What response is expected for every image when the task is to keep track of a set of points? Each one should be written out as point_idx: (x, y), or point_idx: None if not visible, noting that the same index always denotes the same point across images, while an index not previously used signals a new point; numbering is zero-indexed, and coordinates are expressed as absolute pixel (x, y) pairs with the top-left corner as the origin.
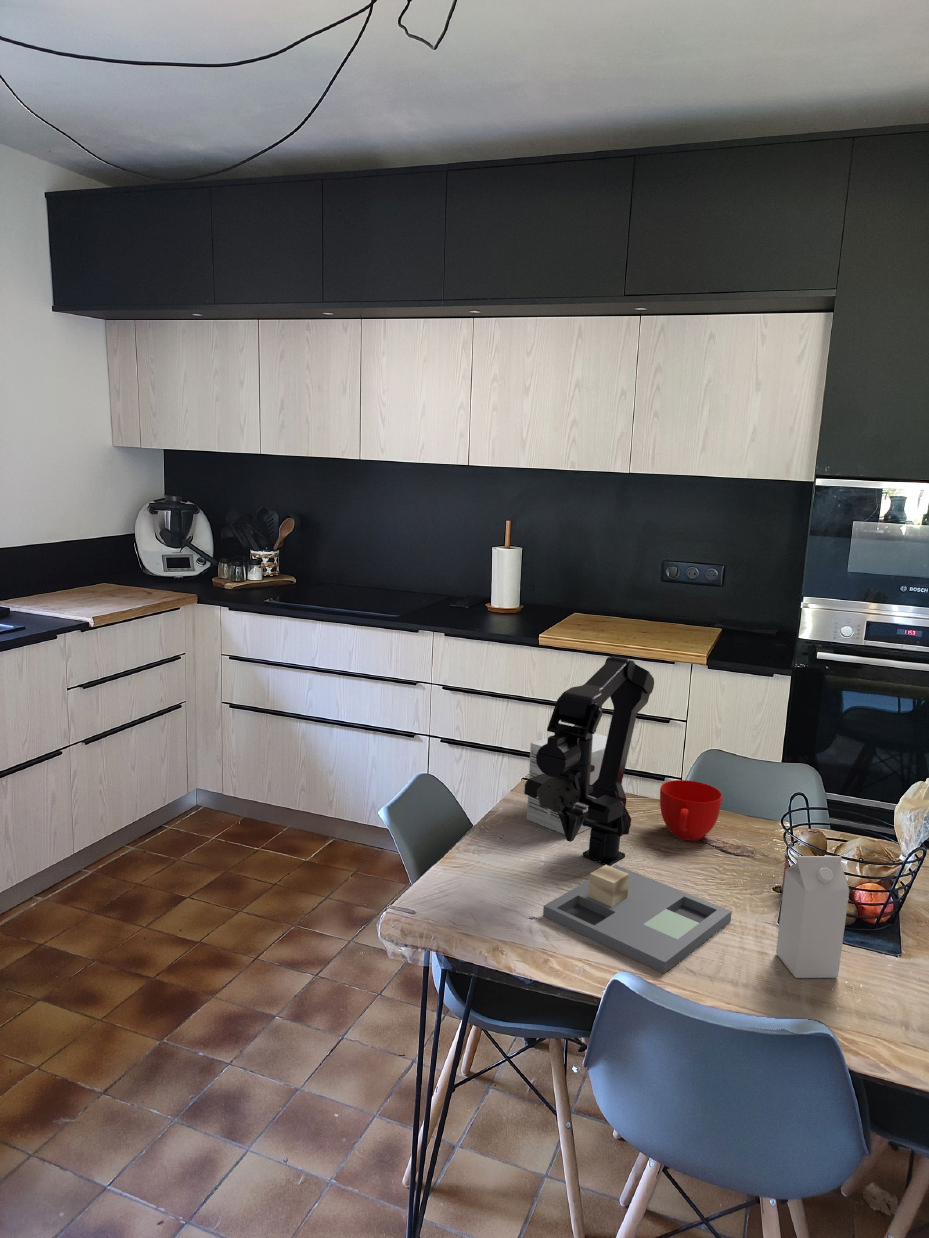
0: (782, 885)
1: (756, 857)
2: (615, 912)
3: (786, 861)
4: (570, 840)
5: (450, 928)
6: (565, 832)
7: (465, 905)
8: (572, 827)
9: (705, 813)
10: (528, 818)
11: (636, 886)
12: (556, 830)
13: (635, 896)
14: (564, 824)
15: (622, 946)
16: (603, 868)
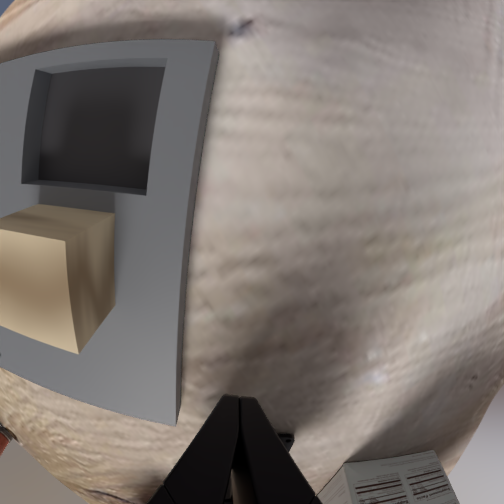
0: (5, 437)
1: (81, 489)
2: (20, 181)
3: None
4: (220, 400)
5: None
6: (265, 439)
7: (433, 12)
8: (173, 489)
9: None
10: (432, 452)
11: (69, 355)
12: (377, 460)
13: None
14: (281, 498)
15: None
16: (61, 319)
